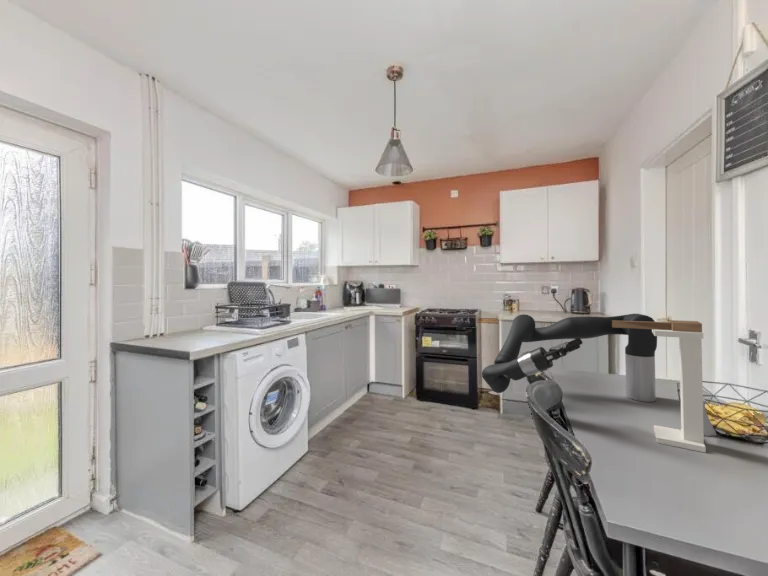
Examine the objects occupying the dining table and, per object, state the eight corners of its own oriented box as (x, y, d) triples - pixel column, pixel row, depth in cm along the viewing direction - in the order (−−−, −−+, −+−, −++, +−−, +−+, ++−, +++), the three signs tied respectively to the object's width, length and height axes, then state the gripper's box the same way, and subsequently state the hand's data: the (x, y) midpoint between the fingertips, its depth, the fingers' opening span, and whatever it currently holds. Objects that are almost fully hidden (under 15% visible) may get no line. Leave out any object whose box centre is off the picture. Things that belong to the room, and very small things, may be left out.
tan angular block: (612, 325, 106) (612, 318, 106) (697, 329, 94) (696, 321, 94) (612, 328, 100) (611, 320, 100) (702, 332, 88) (701, 323, 88)
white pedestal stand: (654, 429, 101) (651, 326, 101) (698, 438, 95) (696, 328, 95) (657, 442, 93) (654, 330, 93) (705, 452, 87) (703, 333, 87)
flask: (723, 437, 95) (722, 403, 95) (693, 436, 96) (693, 402, 96) (704, 427, 102) (703, 395, 102) (677, 425, 104) (676, 394, 104)
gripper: (544, 367, 121) (588, 349, 113) (536, 376, 109) (585, 356, 101) (533, 348, 123) (575, 329, 115) (524, 355, 112) (570, 334, 103)
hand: (580, 342), depth 108 cm, fingers open, 8 cm apart
